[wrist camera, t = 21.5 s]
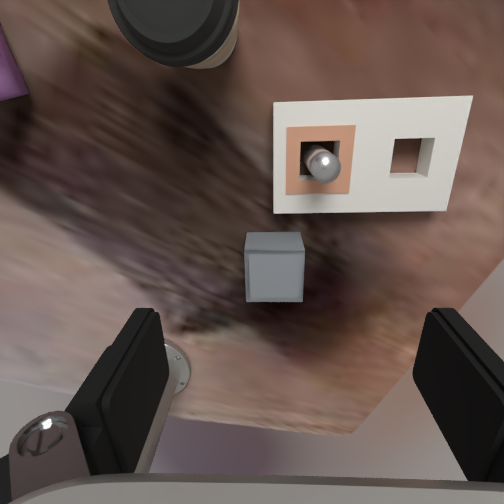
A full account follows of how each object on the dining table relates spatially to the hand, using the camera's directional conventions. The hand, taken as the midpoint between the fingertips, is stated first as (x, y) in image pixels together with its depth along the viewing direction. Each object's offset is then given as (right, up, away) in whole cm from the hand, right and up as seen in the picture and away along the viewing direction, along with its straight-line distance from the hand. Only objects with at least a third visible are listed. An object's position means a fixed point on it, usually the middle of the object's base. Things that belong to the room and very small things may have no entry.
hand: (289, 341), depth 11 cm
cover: (+2, +3, +32) cm, 32 cm away
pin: (+6, +14, +26) cm, 31 cm away
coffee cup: (-6, +26, +22) cm, 35 cm away
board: (+11, +15, +26) cm, 32 cm away
